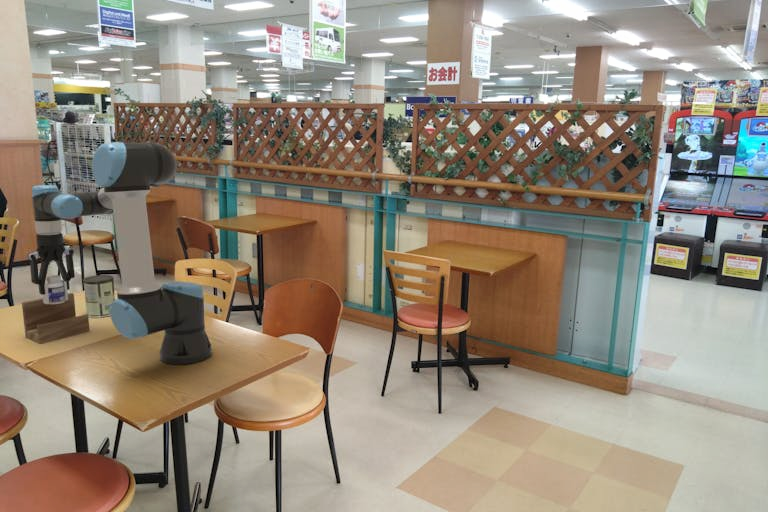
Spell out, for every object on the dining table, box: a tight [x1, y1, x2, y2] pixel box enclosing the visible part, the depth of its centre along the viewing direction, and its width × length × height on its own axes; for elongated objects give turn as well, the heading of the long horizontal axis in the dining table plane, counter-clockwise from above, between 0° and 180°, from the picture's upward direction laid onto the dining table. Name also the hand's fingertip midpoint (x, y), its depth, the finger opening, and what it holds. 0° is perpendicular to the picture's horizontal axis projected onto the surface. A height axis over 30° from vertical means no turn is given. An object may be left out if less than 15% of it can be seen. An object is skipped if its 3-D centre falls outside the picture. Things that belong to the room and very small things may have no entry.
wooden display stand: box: [21, 292, 91, 345], centre depth 192 cm, size 11×16×12 cm, turn 144°
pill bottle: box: [46, 274, 65, 304], centre depth 190 cm, size 5×5×9 cm
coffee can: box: [82, 274, 116, 319], centre depth 215 cm, size 10×10×14 cm
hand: (55, 301), depth 191 cm, fingers closed on pill bottle, 5 cm apart
